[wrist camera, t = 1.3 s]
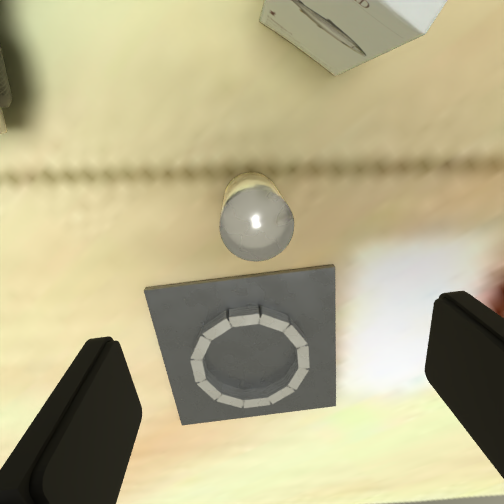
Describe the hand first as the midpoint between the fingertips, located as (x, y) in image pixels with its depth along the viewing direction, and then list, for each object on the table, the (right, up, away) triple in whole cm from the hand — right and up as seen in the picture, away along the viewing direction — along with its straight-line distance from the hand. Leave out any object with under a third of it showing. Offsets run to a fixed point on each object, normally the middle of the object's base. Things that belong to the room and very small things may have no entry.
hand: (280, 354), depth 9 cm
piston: (-1, +8, +19) cm, 20 cm away
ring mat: (-1, -8, +25) cm, 27 cm away
